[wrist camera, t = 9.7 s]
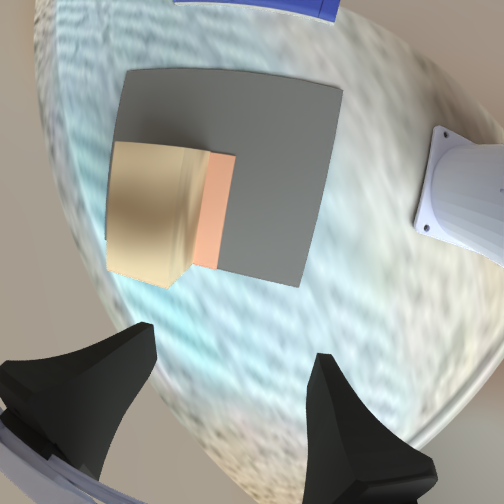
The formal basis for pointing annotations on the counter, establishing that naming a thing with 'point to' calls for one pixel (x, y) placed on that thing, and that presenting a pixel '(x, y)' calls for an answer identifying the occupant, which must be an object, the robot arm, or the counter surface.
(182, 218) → the maple block
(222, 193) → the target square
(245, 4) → the hard drive
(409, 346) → the counter surface
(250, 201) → the rubber mat
